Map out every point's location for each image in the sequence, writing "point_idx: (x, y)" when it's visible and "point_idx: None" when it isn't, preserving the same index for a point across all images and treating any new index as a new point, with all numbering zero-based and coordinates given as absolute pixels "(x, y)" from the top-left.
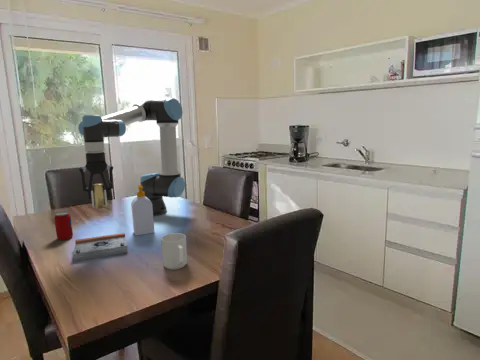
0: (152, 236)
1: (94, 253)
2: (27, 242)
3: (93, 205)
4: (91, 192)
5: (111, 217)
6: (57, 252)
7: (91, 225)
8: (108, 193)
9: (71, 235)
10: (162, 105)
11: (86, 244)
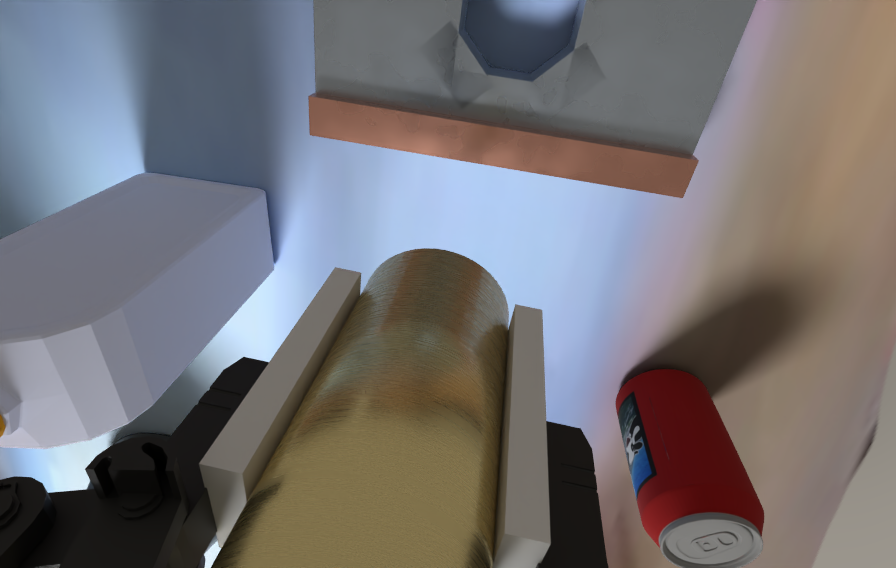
0: (150, 101)
1: None
2: (851, 442)
3: (525, 323)
4: (541, 538)
5: None
6: (795, 177)
7: None
8: (199, 420)
9: (631, 384)
10: None
11: (628, 75)
